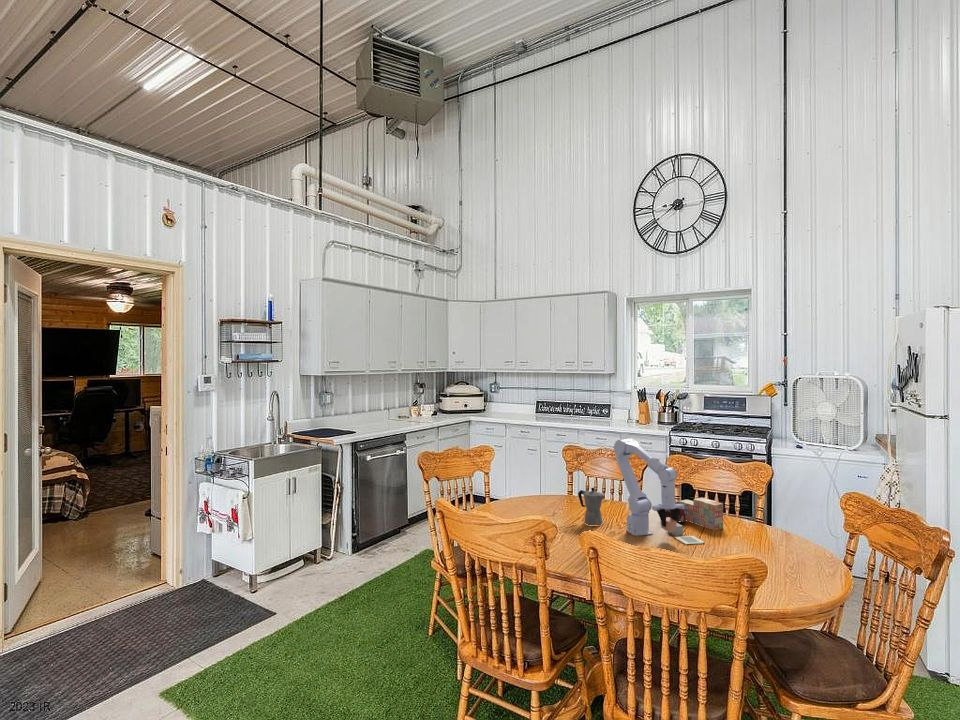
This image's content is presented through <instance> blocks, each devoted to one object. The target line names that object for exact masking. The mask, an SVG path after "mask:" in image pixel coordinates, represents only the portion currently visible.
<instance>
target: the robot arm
mask: <svg viewBox="0 0 960 720" xmlns="http://www.w3.org/2000/svg"><path fill="white" fill-rule="evenodd" d="M612 447H613V451H614V454H615V460H616V463H617V465H618V468H619V470H620V473H621V475H622V479H623V480H624V483H625V485H626V488H627V491H628V494H629V496H628V498H627V502H628V509H629V511H630V512H631V513H630V514H627V516H626V531H627V532H628V533H629V534H631V535H632V536H636V537H637V536H647V535H648V536H649V534H651V535H653V532H651V531H649V529H650V528H649V527H650V526H649V525H650V524H649V514H650V511H651V510H652V511H654V512H657V514H658V517H659V518H660V524H661V523H662V526H664V527H666V516H667V512H665V510H670V513H671V519H673V520H675V521H677V518H678V516H679V514H680V513H681V511H680V510H679V509H684V504H675V502H676V479H677V478H678V472H677V470H676V469H675V467H673V466H670V467H669V466H668V464H665V463H664V462H663V461H662V460H661V458H660V457H656V456H651V454H650V453H648V451H646V450H645V449H643V447H641V445H639V443H638V441H637V440H635V439H634V438H631V437H629V438H624V439H617V440H616V441H615V443H614V445H613V446H612ZM632 454H634V455H636V456H637V457H638V458H640V459H642V460H643V461H644V462H646V464H647V467H648V468H649V469H650V470H651V471H653V473H655V474H656V475H657V476H658V477H657V478H658V479H659V480H660V485H661V487H660V488H661V489H660V490H661V491H660V492H661V503H659V504H654V505H652V502H651V500H650V499H649V498H648V496H647V494H646V493H645V492H643V491H642V490H641V487H640V485H639V482H638V480H637V478H636V475H635V472H634V470H633V468H632V466H631V463H630V460H629V459H630V457H631V455H632Z"/></svg>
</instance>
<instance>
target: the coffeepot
mask: <svg viewBox="0 0 960 720" xmlns="http://www.w3.org/2000/svg"><path fill="white" fill-rule="evenodd" d="M590 489H591V491H587V490H582V489H580V490H579V491H578V493H577V495H578V499H579V502H580V503H579V504H580V507H583V508H586V510H585V514H584V515H585V516H584V522H583V523H586V524H588V525H601V524H602V523H604V522H603V516H602V511H601V507H602V502H603V500H604V498H606V496H605V495H604V494H603V493H602V492H599V491H595V487H591V488H590ZM582 495H583V496H582ZM583 498H584V499H583ZM583 500H584V501H583ZM602 525H603V524H602Z"/></svg>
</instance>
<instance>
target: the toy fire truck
mask: <svg viewBox="0 0 960 720" xmlns="http://www.w3.org/2000/svg"><path fill="white" fill-rule="evenodd" d="M675 504H680V503H679V501H675ZM679 510H680V511H681V513H680V514H679V516H678V518H677V523H678V524H679V523H685V522H687V521H686V515H685V512H684V510H683V509H679ZM665 512H667V516H666V517H670V518H671V513H670V510H665ZM679 521H681V522H679Z"/></svg>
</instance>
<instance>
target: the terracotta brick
mask: <svg viewBox="0 0 960 720" xmlns="http://www.w3.org/2000/svg"><path fill="white" fill-rule="evenodd" d="M660 528H661V529H663V530H665V531H667V533H669V532H673V531H677V521H675V520H673V519H671V518H670V517H666V527H664V526H662V523H661V522H660Z"/></svg>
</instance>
